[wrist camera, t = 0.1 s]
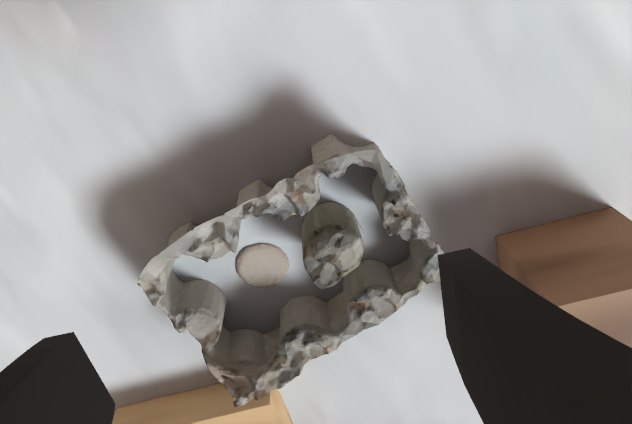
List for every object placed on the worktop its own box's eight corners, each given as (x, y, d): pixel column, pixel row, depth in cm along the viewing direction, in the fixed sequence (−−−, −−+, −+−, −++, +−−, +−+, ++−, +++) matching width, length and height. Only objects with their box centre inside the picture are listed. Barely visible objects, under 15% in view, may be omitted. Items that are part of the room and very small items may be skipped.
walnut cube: (608, 296, 23) (687, 376, 18) (503, 321, 23) (556, 406, 18) (611, 206, 20) (702, 272, 16) (494, 235, 21) (552, 307, 16)
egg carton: (237, 347, 23) (228, 419, 19) (138, 230, 20) (104, 289, 16) (441, 251, 21) (474, 311, 17) (368, 104, 18) (388, 139, 14)
